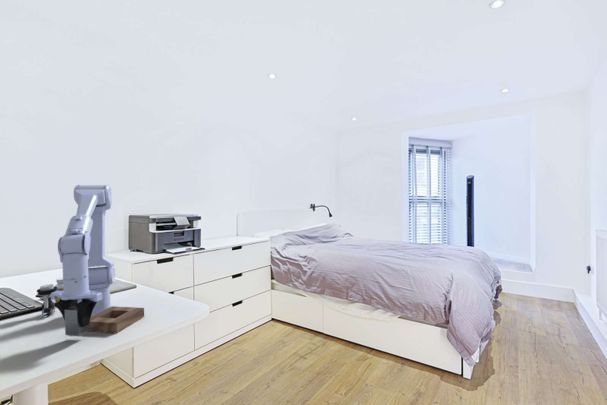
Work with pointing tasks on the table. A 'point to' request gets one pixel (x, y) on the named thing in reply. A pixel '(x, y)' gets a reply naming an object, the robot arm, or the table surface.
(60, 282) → the supplement bottle
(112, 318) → the socket block
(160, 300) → the table surface
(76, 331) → the steel peg
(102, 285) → the robot arm
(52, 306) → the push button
